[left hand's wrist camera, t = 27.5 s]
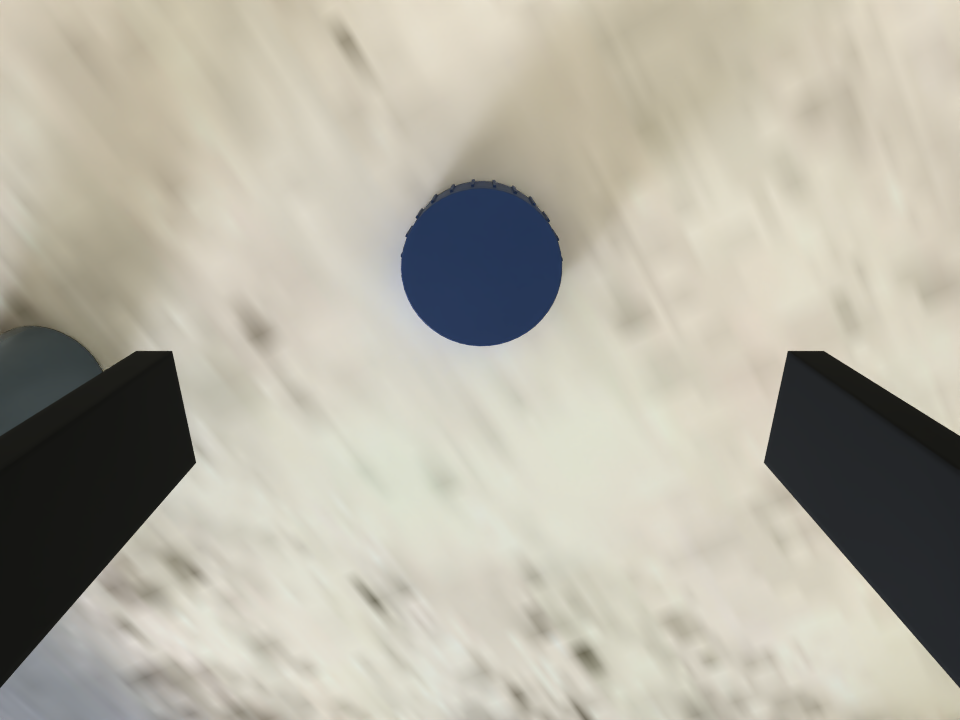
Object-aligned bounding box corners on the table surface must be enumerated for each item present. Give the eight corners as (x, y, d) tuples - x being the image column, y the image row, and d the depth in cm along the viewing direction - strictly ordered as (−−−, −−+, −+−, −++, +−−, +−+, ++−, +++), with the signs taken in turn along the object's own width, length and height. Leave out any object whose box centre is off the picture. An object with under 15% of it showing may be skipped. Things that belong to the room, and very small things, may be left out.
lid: (378, 226, 22) (367, 238, 19) (513, 149, 20) (517, 152, 18) (453, 349, 24) (450, 373, 21) (580, 285, 22) (590, 303, 20)
